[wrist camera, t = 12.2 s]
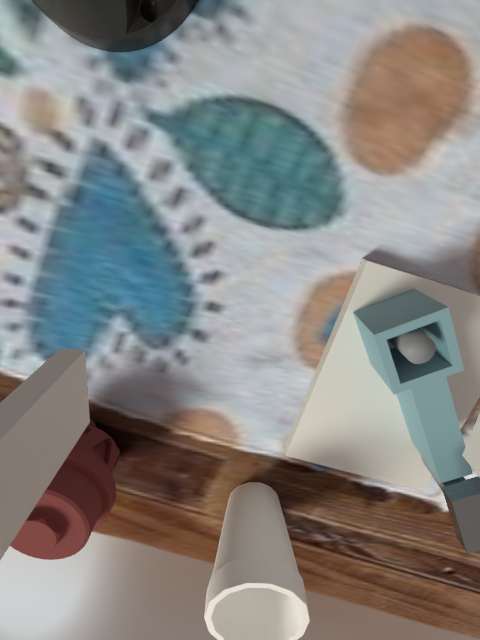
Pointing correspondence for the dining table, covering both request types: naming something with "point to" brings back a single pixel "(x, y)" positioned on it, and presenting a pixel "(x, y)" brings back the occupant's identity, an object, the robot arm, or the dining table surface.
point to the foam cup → (255, 572)
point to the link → (419, 375)
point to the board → (380, 384)
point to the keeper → (463, 508)
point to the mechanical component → (72, 500)
